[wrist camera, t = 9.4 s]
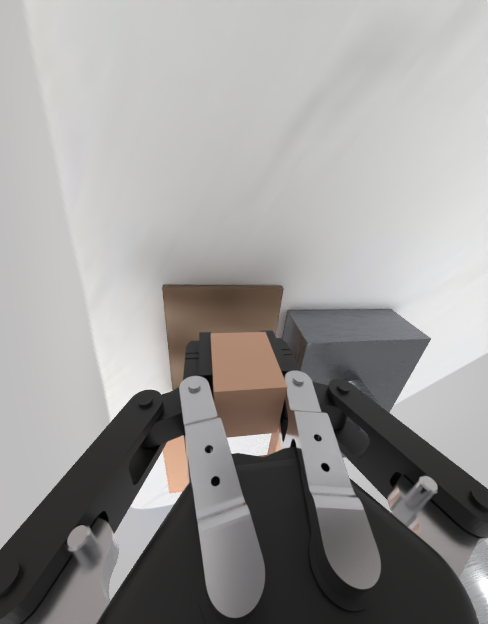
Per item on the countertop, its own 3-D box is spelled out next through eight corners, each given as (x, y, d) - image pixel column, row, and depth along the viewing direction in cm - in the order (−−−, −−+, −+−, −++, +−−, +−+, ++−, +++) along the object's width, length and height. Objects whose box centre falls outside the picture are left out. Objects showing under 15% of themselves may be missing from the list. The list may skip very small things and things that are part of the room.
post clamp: (287, 310, 23) (501, 659, 7) (391, 309, 25) (758, 580, 8) (267, 414, 30) (344, 699, 14) (348, 407, 32) (498, 652, 16)
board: (163, 284, 20) (162, 287, 19) (281, 285, 21) (283, 288, 21) (174, 402, 27) (174, 406, 26) (263, 395, 28) (264, 400, 28)
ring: (151, 334, 12) (132, 397, 9) (316, 330, 14) (353, 382, 10) (171, 475, 19) (164, 542, 16) (281, 462, 20) (297, 521, 17)
